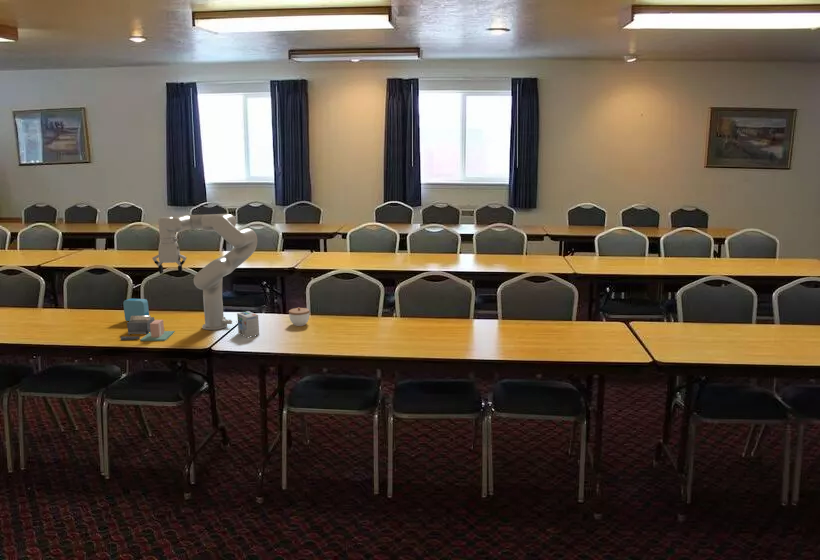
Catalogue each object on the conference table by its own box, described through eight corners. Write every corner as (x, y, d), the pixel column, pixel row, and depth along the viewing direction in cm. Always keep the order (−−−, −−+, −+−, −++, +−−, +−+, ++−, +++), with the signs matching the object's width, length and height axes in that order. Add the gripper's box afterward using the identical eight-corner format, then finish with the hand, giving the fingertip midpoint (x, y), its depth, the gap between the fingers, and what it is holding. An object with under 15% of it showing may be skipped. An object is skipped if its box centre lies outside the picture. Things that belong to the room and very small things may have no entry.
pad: (174, 332, 336) (174, 331, 336) (165, 340, 323) (164, 339, 322) (151, 332, 336) (151, 331, 336) (140, 341, 322) (140, 339, 322)
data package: (149, 320, 360) (147, 299, 357) (145, 322, 355) (142, 301, 353) (130, 319, 362) (127, 298, 359) (125, 321, 357) (122, 300, 355)
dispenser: (155, 328, 344) (153, 313, 343) (140, 339, 325) (138, 323, 323) (136, 328, 344) (134, 313, 342) (119, 340, 325) (118, 324, 323)
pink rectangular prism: (164, 333, 333) (163, 319, 331) (159, 337, 326) (158, 323, 324) (156, 333, 333) (155, 319, 331) (151, 337, 326) (149, 323, 324)
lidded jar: (285, 326, 345) (285, 309, 343) (295, 321, 355) (294, 304, 353) (304, 328, 342) (303, 310, 340) (313, 322, 352) (312, 305, 350)
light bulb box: (238, 333, 334) (236, 312, 331) (250, 330, 338) (248, 310, 336) (247, 338, 326) (246, 317, 323) (260, 335, 330) (258, 314, 328)
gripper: (187, 239, 343) (189, 271, 347) (153, 239, 343) (156, 272, 347) (182, 241, 336) (185, 274, 339) (148, 242, 336) (151, 274, 339)
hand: (170, 273), depth 343 cm, fingers open, 9 cm apart
